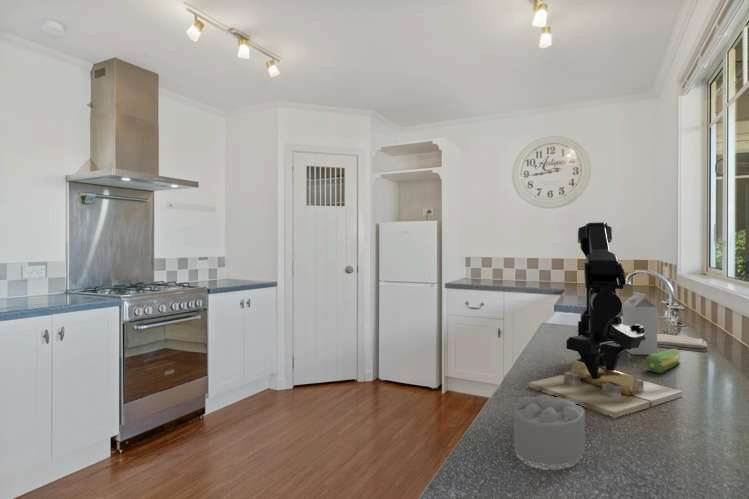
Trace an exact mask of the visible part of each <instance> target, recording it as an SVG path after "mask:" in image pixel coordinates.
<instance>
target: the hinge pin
mask: <svg viewBox="0 0 749 499" xmlns="http://www.w3.org/2000/svg"><path fill="white" fill-rule="evenodd" d="M570 372H572V373H576V374H579V375H580V381H583V382H586V383H589V384H593V385H596V386H599V387H602V384H606V383H610V384H613V385H617V386H620V387H621V393H622V394H625V395H629V396H633V395H634V394H635V393H636V392H637V389H638V380H637V379H638V378H637V376H635V375H631V374H628V373H624V372H621V371H617V370H615V371H613V370H610V369H606V367H603V366H602V367H601V366H599V369H598V377H597V379H592V377H591V375H590V373H589V371H588V369H587V367H586V365H585V363H583V362H579V361H577V360H576V361H574V362H573V363H572V365H571V367H570Z"/></svg>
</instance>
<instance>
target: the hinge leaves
mask: <svg viewBox="0 0 749 499" xmlns="http://www.w3.org/2000/svg"><path fill="white" fill-rule="evenodd" d="M637 380H638V389H637V392H636V393H635V394H634V395H633V396H629V395H625V394H622V393H621V387H620V386H617V385H613V384H610V383H606V384H602V387H599V386H596V385H593V384H589V383H586V382H583V381H580V375H579V374H576V373H572V372H571V371H566V372H564V373H563V374H560V375H556V376H555V375H554V376H549V377H545V378H542V379H537V380H533V381H528V387H529V386H530V387H533V388H536V389H539V390H541V391H544V392H547V393H549V394H552V395H555V396H558V397H561V398H563V399H567V400H569V401H571V402H574V403H576V404H579V405H582V406H585V407H587V408H590V409H592V410H591V411H593V410H595V411H594V412H596V411H598V412H601V413H603V414H602V415H604V414H606V415H605V416H607V415H609V416H612V417H614V418H613V419H616V418H615V417H618V418H620V417H619V416H621V417H623V416H622V415H624V416H626V415H625V414H627V415H629V413H630V414H632V413H633V414H634V413H636V412H639V411H641V410H645V409H648V408H651V407H654V406H657V405H660V404H663V403H666V402H671V401H672V400H676V399H679V398H682V397H683V391H682V390H679V389H674V388H671V387H669V386H668V387H667V386H663V385H661V384H657V383H652V382H649V381H646V380H645V381H644V380H643V379H639V378H637ZM549 394H548V395H549ZM579 405H578V406H579ZM582 406H581V407H582ZM587 408H586V409H587ZM590 409H589V410H590ZM598 412H597V413H598ZM601 413H600V414H601ZM609 416H608V417H609ZM612 417H611V418H612Z"/></svg>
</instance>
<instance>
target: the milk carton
mask: <svg viewBox="0 0 749 499" xmlns="http://www.w3.org/2000/svg"><path fill="white" fill-rule="evenodd" d="M646 295H647V294H644V293H641V292H637V291H633V295H632V296H631V297H629V298H628V299H627V300H626V301H625V302H624V303H622V324H623V325H625V326H630V327H632V326H633V325H636V324H639V325H641V326H643V327H644V332H645V336H644V337H645V340H643V341H641V343H640V345H639V347H638V348H632V349H630V350H628V349H627V350H626V351H625V352H628V353H629V354H632V355H633V356H634V355H638V356H639V355H643V356H644V355H646V356H647V355H648V356H649V355H650V354H653V353H658V347H657V334H658V307H657V306H656V305H655V304H654V303H653V302H651V301H650V300H649V299H647V298H646Z"/></svg>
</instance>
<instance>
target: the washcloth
mask: <svg viewBox="0 0 749 499" xmlns="http://www.w3.org/2000/svg"><path fill="white" fill-rule="evenodd" d="M708 347H709V345H707V341H706V340H704V339H702V338H694V337H691V336H687V335H671V334H666V333H664V334H663V333H657V348H666V349H667V348H669V349H677V350H687V351H692V352H693V351H696V352H705V353H706V351H707V348H708Z"/></svg>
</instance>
